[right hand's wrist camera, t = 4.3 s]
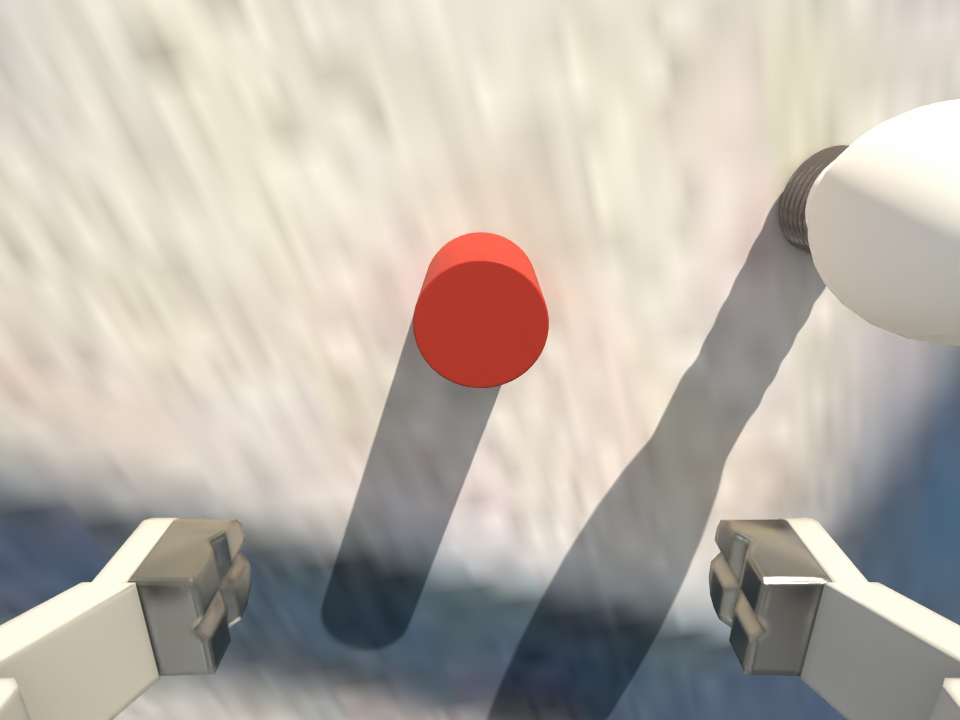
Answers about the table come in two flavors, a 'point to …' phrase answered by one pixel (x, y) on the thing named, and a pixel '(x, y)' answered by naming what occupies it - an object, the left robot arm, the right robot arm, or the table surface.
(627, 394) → the table surface
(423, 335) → the canister
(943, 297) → the light bulb
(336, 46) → the table surface
